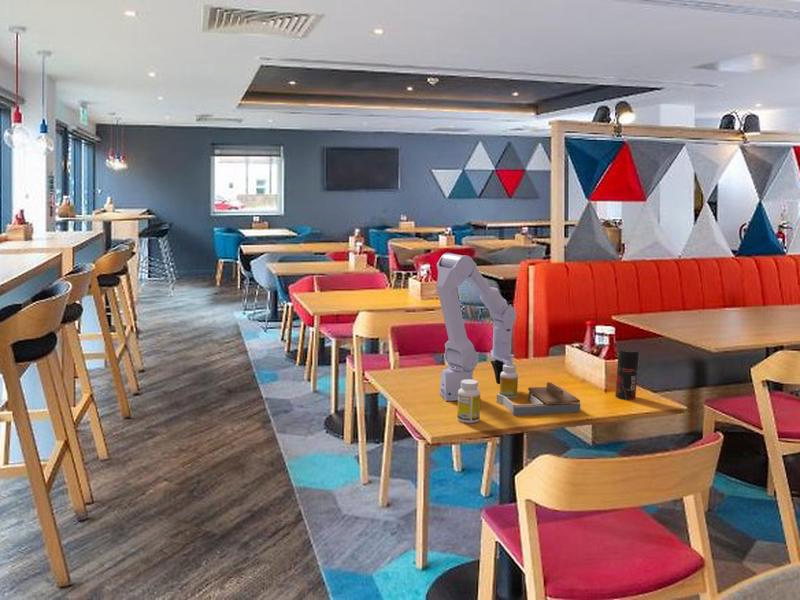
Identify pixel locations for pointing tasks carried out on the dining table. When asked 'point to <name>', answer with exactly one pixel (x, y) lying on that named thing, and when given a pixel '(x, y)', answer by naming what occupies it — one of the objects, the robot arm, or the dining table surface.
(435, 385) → the dining table surface
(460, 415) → the pill bottle
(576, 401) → the cover
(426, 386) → the dining table surface
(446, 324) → the robot arm
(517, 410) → the socket
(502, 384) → the supplement bottle
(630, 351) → the deodorant
